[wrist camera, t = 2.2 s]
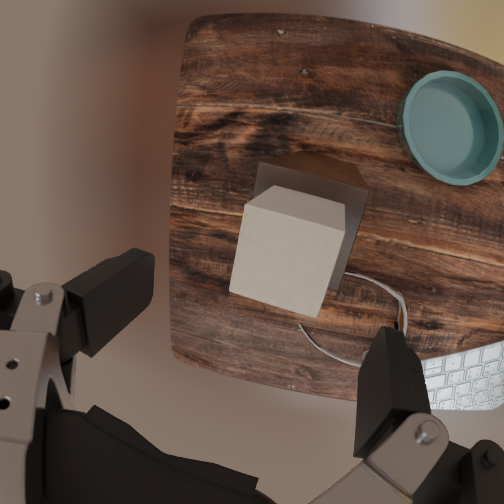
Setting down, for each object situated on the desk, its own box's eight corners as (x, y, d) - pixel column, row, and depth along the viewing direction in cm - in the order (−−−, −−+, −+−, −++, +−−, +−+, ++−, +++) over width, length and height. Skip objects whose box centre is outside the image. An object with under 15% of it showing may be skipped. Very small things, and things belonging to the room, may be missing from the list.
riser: (302, 150, 39) (258, 160, 19) (355, 164, 37) (370, 190, 18) (291, 201, 41) (238, 262, 22) (341, 215, 40) (337, 292, 20)
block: (273, 184, 19) (244, 203, 14) (344, 204, 18) (345, 232, 13) (259, 250, 21) (228, 291, 15) (325, 270, 20) (316, 319, 15)
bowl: (405, 63, 31) (413, 54, 26) (494, 101, 28) (510, 98, 24) (385, 160, 36) (391, 163, 31) (474, 193, 33) (489, 201, 29)
